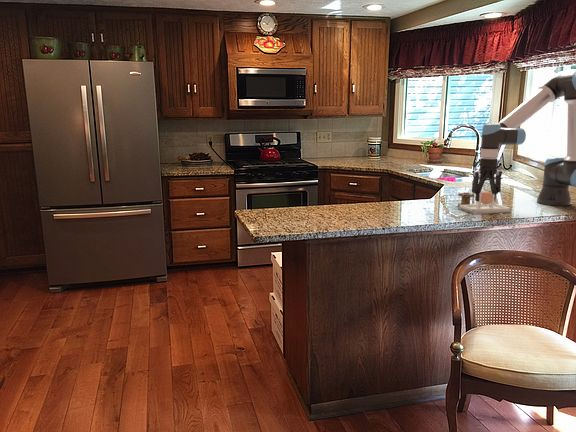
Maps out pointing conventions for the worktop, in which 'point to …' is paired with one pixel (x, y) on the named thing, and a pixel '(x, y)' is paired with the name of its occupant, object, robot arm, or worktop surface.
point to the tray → (484, 208)
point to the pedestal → (465, 198)
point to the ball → (486, 197)
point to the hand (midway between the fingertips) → (484, 207)
